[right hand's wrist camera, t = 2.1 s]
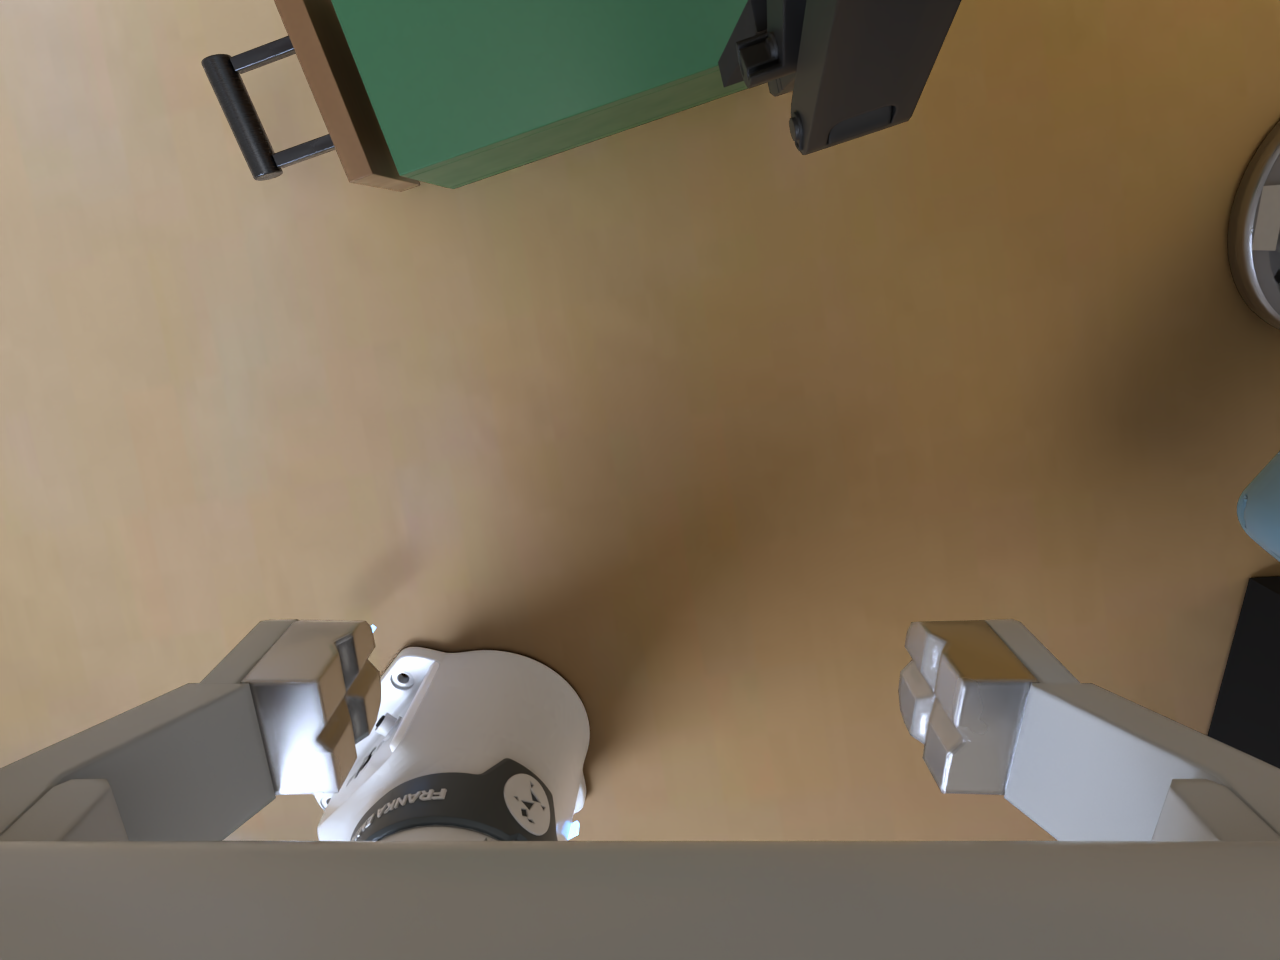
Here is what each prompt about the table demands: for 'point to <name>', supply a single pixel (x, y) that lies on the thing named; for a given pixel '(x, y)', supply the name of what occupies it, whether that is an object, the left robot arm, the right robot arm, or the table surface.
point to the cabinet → (528, 74)
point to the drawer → (332, 88)
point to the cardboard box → (1253, 677)
